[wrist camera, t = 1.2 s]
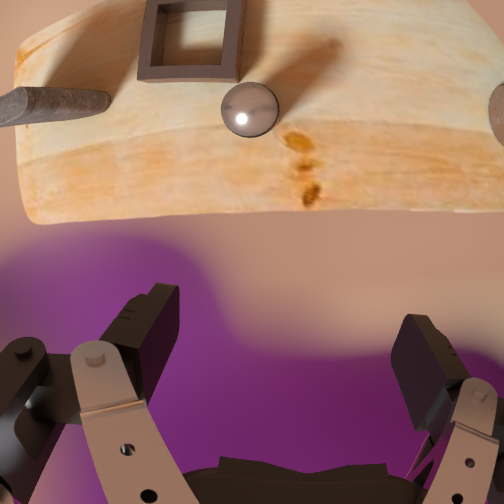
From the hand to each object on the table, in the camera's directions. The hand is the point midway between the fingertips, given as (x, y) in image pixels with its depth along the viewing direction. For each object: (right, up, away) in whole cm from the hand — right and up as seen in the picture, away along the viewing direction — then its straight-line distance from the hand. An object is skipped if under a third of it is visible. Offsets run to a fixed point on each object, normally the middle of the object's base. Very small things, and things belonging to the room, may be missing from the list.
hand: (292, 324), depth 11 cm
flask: (-26, +22, +25) cm, 43 cm away
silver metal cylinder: (-1, +18, +24) cm, 30 cm away
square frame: (-8, +27, +21) cm, 35 cm away
